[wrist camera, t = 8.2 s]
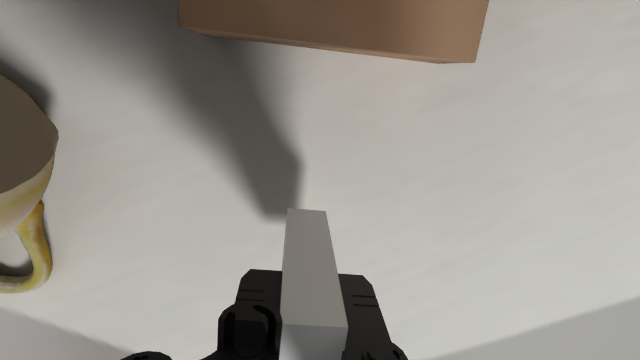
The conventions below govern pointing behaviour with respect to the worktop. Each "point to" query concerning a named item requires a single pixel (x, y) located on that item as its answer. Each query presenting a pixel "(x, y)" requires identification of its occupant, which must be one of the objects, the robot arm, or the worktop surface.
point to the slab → (348, 25)
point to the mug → (25, 180)
